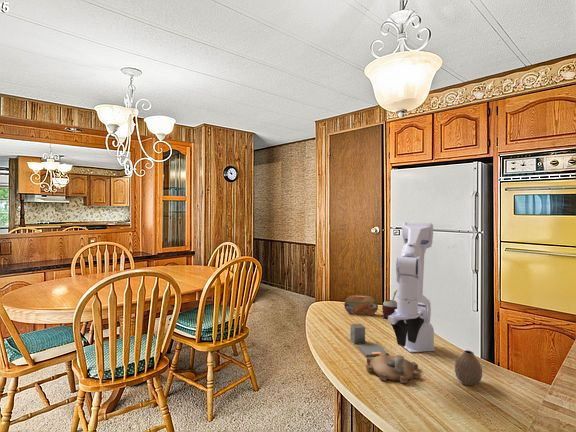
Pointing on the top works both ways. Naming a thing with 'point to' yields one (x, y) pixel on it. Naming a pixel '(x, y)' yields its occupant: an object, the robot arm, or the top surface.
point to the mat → (372, 350)
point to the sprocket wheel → (392, 368)
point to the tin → (361, 305)
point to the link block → (357, 334)
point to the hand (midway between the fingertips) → (406, 343)
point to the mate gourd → (389, 307)
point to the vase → (468, 369)
